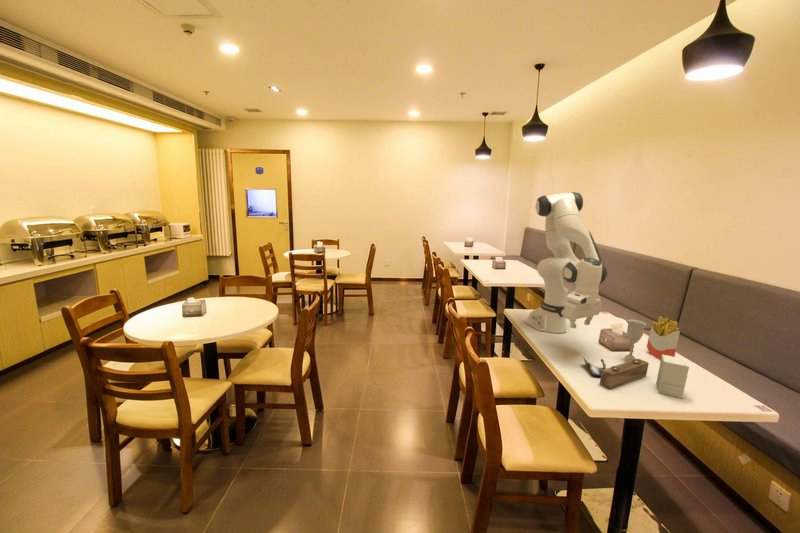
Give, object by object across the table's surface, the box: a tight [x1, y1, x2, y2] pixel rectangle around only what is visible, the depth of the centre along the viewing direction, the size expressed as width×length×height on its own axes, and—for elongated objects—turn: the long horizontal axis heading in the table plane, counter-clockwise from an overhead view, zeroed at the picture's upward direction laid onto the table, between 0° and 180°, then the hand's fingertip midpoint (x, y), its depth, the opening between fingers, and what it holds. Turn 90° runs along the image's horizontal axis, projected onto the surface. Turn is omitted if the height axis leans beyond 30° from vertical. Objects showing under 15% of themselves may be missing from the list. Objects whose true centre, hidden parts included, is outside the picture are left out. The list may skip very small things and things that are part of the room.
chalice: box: [622, 319, 647, 363], centre depth 154 cm, size 7×7×18 cm
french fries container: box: [646, 316, 681, 361], centre depth 160 cm, size 5×11×18 cm, turn 5°
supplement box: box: [655, 354, 690, 399], centre depth 131 cm, size 7×7×13 cm
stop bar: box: [599, 358, 650, 390], centre depth 138 cm, size 4×24×7 cm, turn 118°
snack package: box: [582, 356, 607, 377], centre depth 144 cm, size 12×6×12 cm
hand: (579, 326), depth 155 cm, fingers open, 8 cm apart
